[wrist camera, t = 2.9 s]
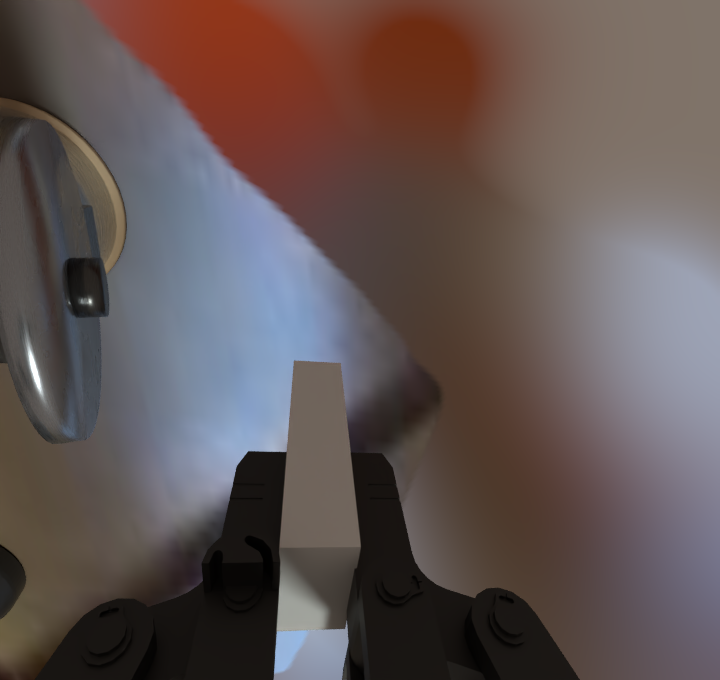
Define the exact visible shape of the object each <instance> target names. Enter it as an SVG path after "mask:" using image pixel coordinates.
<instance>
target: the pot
mask: <svg viewBox="0 0 720 680" xmlns="http://www.w3.org/2000/svg"><path fill="white" fill-rule="evenodd" d="M7 116H13V117H22V118H31V119H38V118H36V117H34V116H31V115H29V114H27V113H24V112H21V111H18V110H15V109H12V108H7V107H2V106H0V121H1V120H2V119H3V118H5V117H7ZM53 128H54V127H53ZM54 129H55V128H54ZM55 131H56V132H57V134H58V136H59V138H60V140H61V142H62V144H63V146H64V148H65V151H66V154H67V156H68V159H69V161H70V165H71V168H72V171H73V174H74V177H75V180H76V184H77V187H78V191H79V195H80V199H81V203H82V207H83V212H84V216H85V221H86V226H87V231H88V236H89V242H90V247H91V253H92V257H101V258H102V260H103V263H104V265H105V263H106V262H107V260H108V259H109V257H110V255H111V252H112V250H113V248H114V244H115V239H116V230H117V223H116V213H115V209H114V204H113V201H112V198H111V195H110V192H109V190H108V188H107V186H106V184H105V182H104V180H103V178H102V176H101V175H100V173H99V172H98V170H97V168H96V167H95V166H94V164H93V163H92V162H91V161H90V159H89V158H88V157H87V156H86V155H85V154H84V152H83V151H82V150H81V149H80V148H79V147H78V146H77V145H76V144H75V143H73V142H72V141H71V140H70V139H69V138H68V137H66V136H65V135H64V134H62V133H61V132H60V131H58V130H57V129H55ZM0 363H7V360H6V357H5V353H4V349H3V346H2V342H1V337H0Z"/></svg>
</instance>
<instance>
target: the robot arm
mask: <svg viewBox="0 0 720 680" xmlns="http://www.w3.org/2000/svg"><path fill="white" fill-rule="evenodd" d="M202 574H203V581H202V582H201V583H200V584H199V585H198V586H197V587H195V588H194V589H192V590H191V591H189V592H188V593H186V594H183V595H181V596H179V597H177V598H174V599H171V600H168V601H165V602H162V603H159V604H156V605H153V606H151V607H147V606H146V605H145V604H143V603H141V602H139V601H137V600H135V599H115V600H112V601H109V602H106V603H103V604H100V605H99V606H97V607H96V608H94V609H93V610H91V611H90V612H88V613H87V614H85V615H84V616H83V617H82V618H81V619H80V620H79V621H78V622H77V623H76V624H75V626H74V627H73V628H72V629H71V630H70V631H69V632H68V634H67V635H66V637H65V638H64V639H63V641H62V642H61V644H60V645H59V646H58V648H57V649H56V651H55V652H54V653H53V655H52V656H51V658H50V659H49V661H48V662H47V663H46V665H45V666H44V668H43V669H42V670H41V672H40V673H39V675H38V676H37V677H36V679H35V680H273V679H274V665H275V648H276V634H277V631H298V630H325V629H345V627H346V621H347V625H348V639H349V643H348V648H347V653H346V658H345V663H344V668H343V676H342V680H580V679H579V678H578V676H577V675H576V673H575V672H574V670H573V669H572V667H571V666H570V664H569V663H568V661H567V660H566V658H565V657H564V655H563V654H562V652H561V651H560V649H559V648H558V646H557V645H556V643H555V642H554V640H553V639H552V637H551V636H550V634H549V633H548V631H547V630H546V628H545V627H544V625H543V624H542V622H541V621H540V619H539V618H538V616H537V615H536V613H535V612H534V611H533V610H532V608H531V607H530V606H529V605H528V604H527V603H526V602H525V601H524V600H523V599H521V598H520V597H518V596H517V595H516V594H514V593H513V592H510V591H507V590H504V589H501V588H488V589H485V590H483V591H482V592H480V593H479V594H477V596H476V598H472V597H469V596H466V595H463V594H460V593H457V592H453V591H450V590H447V589H445V588H442V587H440V586H438V585H436V584H435V583H434V582H432V581H430V580H429V579H428V578H427V577H426V576H425V575H424V574H423V573H422V572H421V570H420V569H419V568H418V566H417V564H416V563H415V560H414V557H413V554H412V551H411V547H410V542H409V538H408V533H407V529H406V524H405V520H404V516H403V511H402V507H401V502H400V501H399V493H398V489H397V487H396V480H395V476H394V471H393V467H392V466H391V465H390V463H389V462H388V461H387V459H386V458H385V457H384V455H383V454H382V453H350V444H349V435H348V426H347V417H346V408H345V399H344V390H343V381H342V371H341V363H327V362H310V361H294V367H293V380H292V393H291V406H290V418H289V431H288V444H287V452H255V451H248V452H247V454H246V455H245V456H244V458H243V459H242V460H241V461H240V463H239V464H238V465H237V468H236V472H235V477H234V482H233V487H232V491H231V495H230V501H229V505H228V509H227V514H226V518H225V523H224V528H223V532H222V537H221V538H219V539H218V540H217V541H216V542H215V543H214V544H213V545H212V546H211V547H210V548H209V549H208V551H207V553H206V555H205V557H204V559H203V561H202ZM25 583H26V576H25V572H24V570H23V568H22V566H21V565H20V563H19V562H18V561H17V560H16V559H15V558H14V557H13V556H12V555H11V554H10V553H9V552H7V551H6V550H5V549H3V548H1V547H0V619H2V618H3V617H4V616H5V615H6V614H7V613H8V612H9V611H10V610H11V608H12V607H13V606H14V604H15V602H16V601H17V599H18V597H19V596H20V594H21V592H22V591H23V589H24V587H25Z"/></svg>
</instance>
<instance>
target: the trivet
mask: <svg viewBox="0 0 720 680" xmlns="http://www.w3.org/2000/svg"><path fill="white" fill-rule="evenodd" d="M0 106H2V107H7V108H12V109H15V110H18V111H21V112H24V113H27V114H29V115H31V116H34V117H36V118H38V119H41V120H46V121H47V122H49V123H50V124H51V125H52V127H54V128H55V129H57V130H58V131H60V132H61V133H62V134H64V135H65V136H66V137H68V138H69V139H70V140H71V141H72V142H73V143H75V144H76V145H77V146H78V147H79V148H80V149H81V150H82V151H83V152H84V154H85V155H86V156H87V157H88V158H89V159H90V161H91V162H92V163H93V164H94V166H95V167H96V168H97V170H98V172H99V173H100V175H101V176H102V178H103V180H104V182H105V184H106V186H107V188H108V190H109V192H110V195H111V198H112V201H113V204H114V209H115V213H116V223H117V230H116V239H115V244H114V248H113V250H112V252H111V255H110V257H109V259H108V260H107V262H106V263H105V265H104V267H105V271H106V274H107V273H108V272H109V271H110V270H111V269H112V268H113V266H114V265H115V264H116V262H117V260H118V259H119V257H120V255H121V252H122V250H123V247H124V243H125V239H126V230H127V222H126V212H125V207H124V202H123V199H122V196H121V193H120V190H119V188H118V185H117V183H116V181H115V179H114V177H113V175H112V174H111V172H110V170H109V169H108V167H107V165H106V164H105V163H104V161H103V160H102V159H101V157H100V156H99V155H98V153H97V152H96V151H95V150H94V149H93V148H92V147H91V146H90V144H89V143H88V142H87V141H86V140H85V139H84V138H82V137H81V136H80V135H79V134H78V133H77V132H76V131H74V130H73V129H72V128H70V127H69V126H68V125H66V124H65V123H64V122H62V121H61V120H59V119H57V118H56V117H54V116H52V115H51V114H49V113H47V112H45V111H43V110H41V109H38V108H36V107H34V106H32V105H29V104H26V103H23V102H20V101H17V100H12V99H7V98H2V97H0Z"/></svg>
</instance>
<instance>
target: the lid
mask: <svg viewBox="0 0 720 680" xmlns="http://www.w3.org/2000/svg"><path fill="white" fill-rule="evenodd" d="M108 315H109V293H108V284H107V277H106V271H105V267H104V263H103V260H102V258H101V257H92V253H91V247H90V242H89V236H88V231H87V226H86V221H85V216H84V212H83V207H82V203H81V199H80V195H79V191H78V187H77V184H76V180H75V177H74V174H73V171H72V168H71V165H70V161H69V159H68V156H67V154H66V151H65V148H64V146H63V144H62V142H61V140H60V138H59V136H58V134H57V132H56V131H55V129H54V128H53V127H52V125H51V124H50V123H49V122H47V121H46V120H41V119H31V118H22V117H13V116H7V117H5V118H3V119H2V120H1V121H0V337H1V342H2V346H3V349H4V353H5V357H6V360H7V364H8V367H9V371H10V374H11V376H12V379H13V382H14V385H15V388H16V391H17V393H18V396H19V398H20V401H21V403H22V405H23V408H24V410H25V412H26V414H27V415H28V417H29V419H30V421H31V423H32V425H33V426H34V427H35V429H36V430H37V432H38V433H39V434H40V435H41V436H42V437H43V438H44V439H45V440H46V441H48V442H50V443H52V444H62V443H68V442H74V441H81V440H86V439H87V438H89V437H90V435H91V434H92V432H93V430H94V428H95V425H96V421H97V416H98V411H99V404H100V393H101V334H100V319H99V317H107V316H108Z"/></svg>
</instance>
